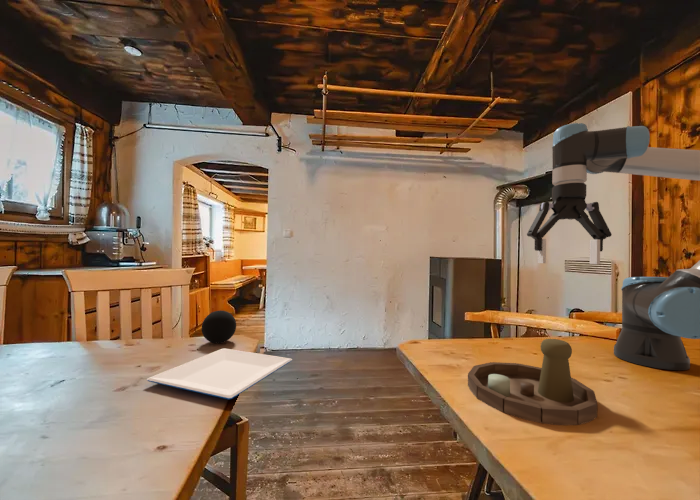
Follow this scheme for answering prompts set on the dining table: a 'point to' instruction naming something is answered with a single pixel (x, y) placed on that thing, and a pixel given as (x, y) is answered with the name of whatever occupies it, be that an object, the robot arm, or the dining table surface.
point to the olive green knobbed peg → (556, 371)
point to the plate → (221, 372)
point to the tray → (531, 395)
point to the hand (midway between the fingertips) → (567, 263)
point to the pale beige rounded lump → (499, 384)
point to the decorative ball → (218, 326)
